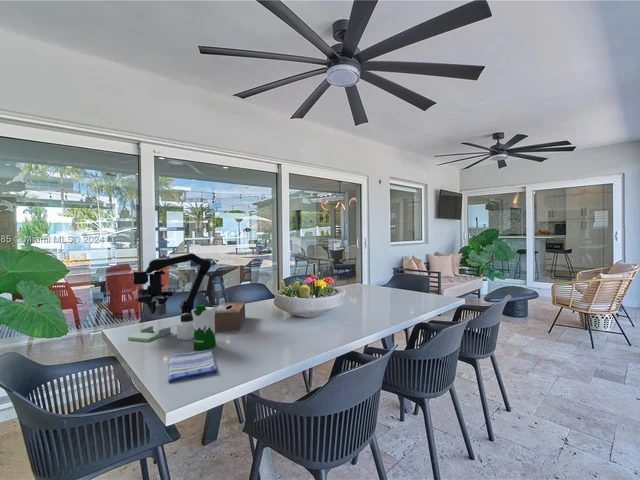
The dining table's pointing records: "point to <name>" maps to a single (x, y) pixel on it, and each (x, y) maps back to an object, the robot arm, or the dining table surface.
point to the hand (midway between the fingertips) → (156, 312)
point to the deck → (148, 334)
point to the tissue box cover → (229, 316)
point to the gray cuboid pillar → (157, 310)
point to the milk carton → (204, 327)
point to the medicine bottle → (185, 327)
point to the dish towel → (191, 366)
